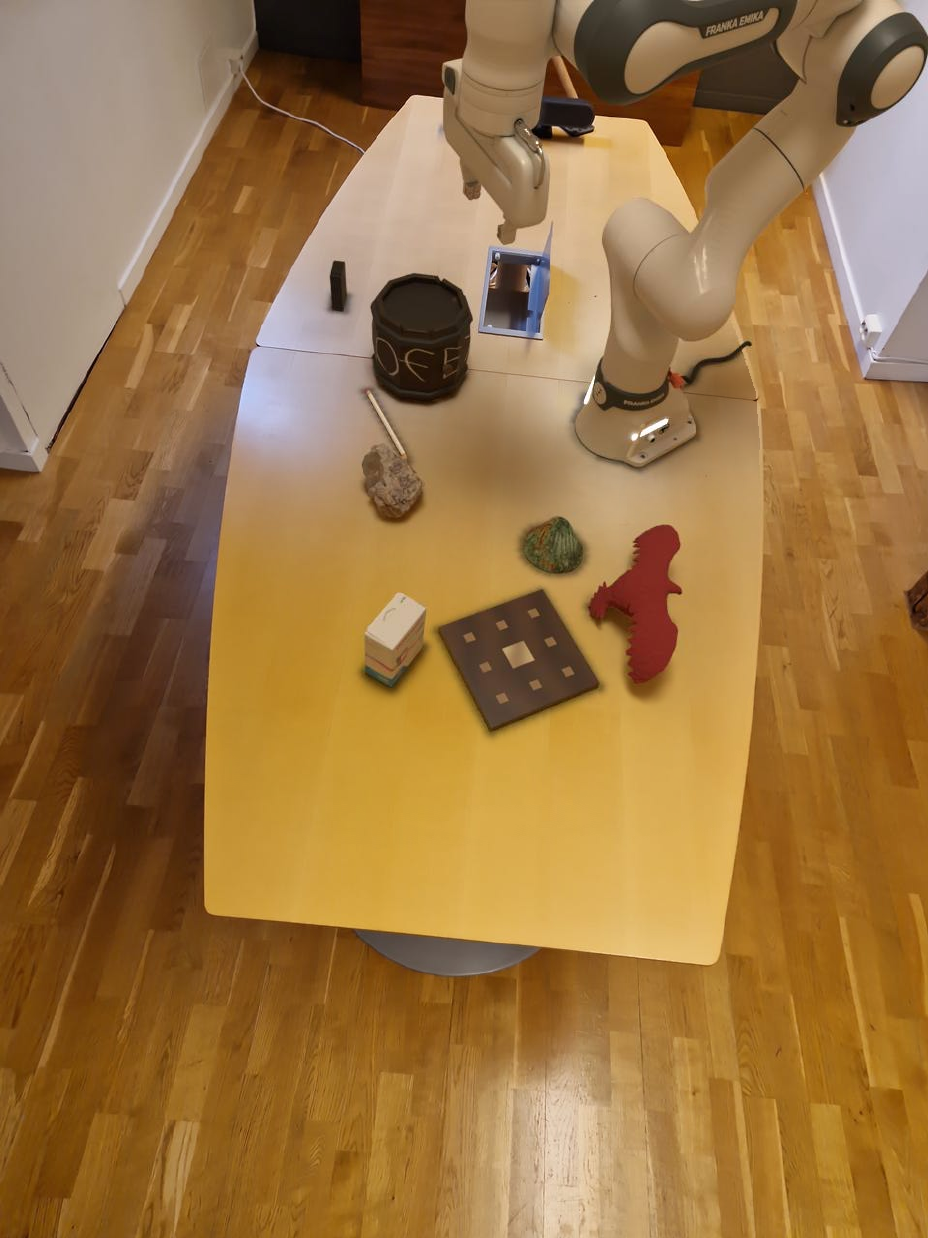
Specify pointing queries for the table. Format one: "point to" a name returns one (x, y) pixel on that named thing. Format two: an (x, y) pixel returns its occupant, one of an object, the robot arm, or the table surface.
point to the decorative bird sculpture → (645, 602)
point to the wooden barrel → (420, 337)
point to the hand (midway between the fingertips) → (488, 218)
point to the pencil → (386, 423)
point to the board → (517, 659)
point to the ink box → (394, 639)
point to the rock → (391, 481)
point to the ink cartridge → (338, 285)
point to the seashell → (553, 546)
